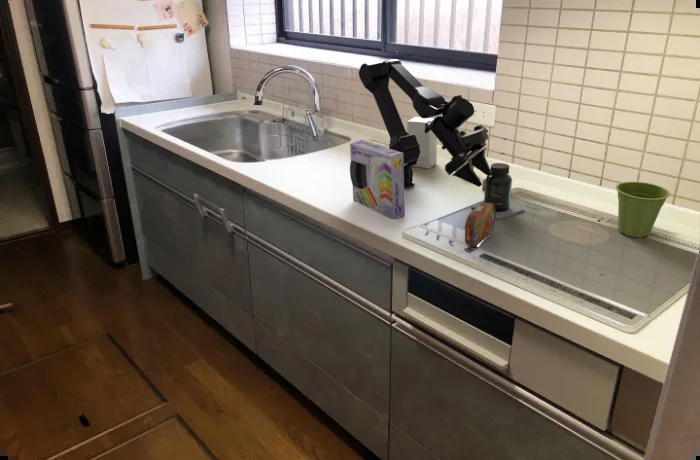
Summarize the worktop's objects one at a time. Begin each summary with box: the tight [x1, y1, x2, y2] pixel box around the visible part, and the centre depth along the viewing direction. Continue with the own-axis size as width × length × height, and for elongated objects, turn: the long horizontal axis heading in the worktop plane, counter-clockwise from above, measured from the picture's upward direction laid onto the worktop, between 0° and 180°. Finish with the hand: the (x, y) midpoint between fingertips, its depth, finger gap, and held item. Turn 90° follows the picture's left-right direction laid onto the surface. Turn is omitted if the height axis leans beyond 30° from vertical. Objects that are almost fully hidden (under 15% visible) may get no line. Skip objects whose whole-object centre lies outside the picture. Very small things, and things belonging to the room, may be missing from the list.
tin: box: [464, 201, 496, 248], centre depth 141 cm, size 15×3×8 cm, turn 148°
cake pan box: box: [349, 139, 406, 219], centre depth 159 cm, size 19×5×18 cm, turn 36°
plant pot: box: [615, 181, 671, 239], centre depth 142 cm, size 12×12×11 cm
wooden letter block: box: [481, 178, 486, 192], centre depth 173 cm, size 5×5×4 cm
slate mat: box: [470, 202, 525, 220], centre depth 160 cm, size 10×10×1 cm
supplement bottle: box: [483, 162, 513, 212], centre depth 157 cm, size 7×7×12 cm
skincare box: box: [406, 116, 438, 170], centre depth 194 cm, size 8×7×16 cm
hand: (485, 180), depth 158 cm, fingers open, 9 cm apart
